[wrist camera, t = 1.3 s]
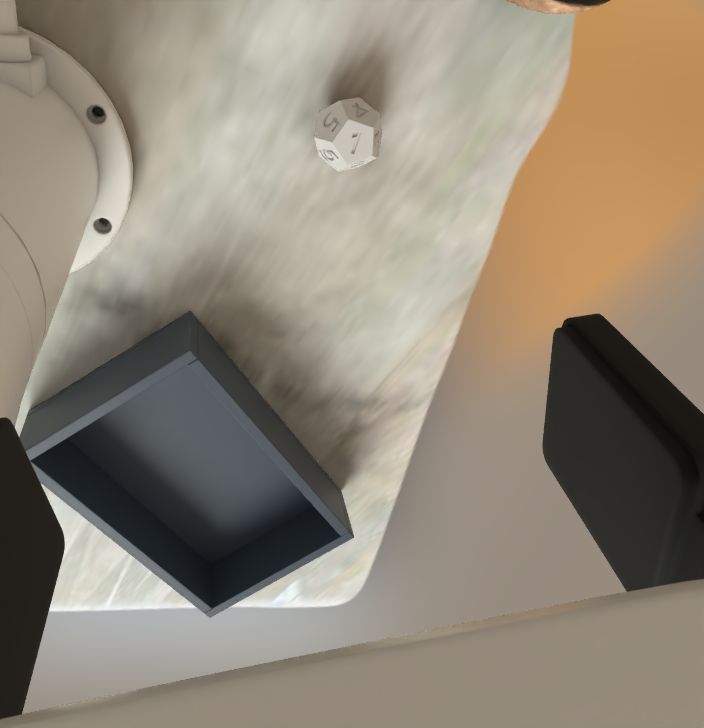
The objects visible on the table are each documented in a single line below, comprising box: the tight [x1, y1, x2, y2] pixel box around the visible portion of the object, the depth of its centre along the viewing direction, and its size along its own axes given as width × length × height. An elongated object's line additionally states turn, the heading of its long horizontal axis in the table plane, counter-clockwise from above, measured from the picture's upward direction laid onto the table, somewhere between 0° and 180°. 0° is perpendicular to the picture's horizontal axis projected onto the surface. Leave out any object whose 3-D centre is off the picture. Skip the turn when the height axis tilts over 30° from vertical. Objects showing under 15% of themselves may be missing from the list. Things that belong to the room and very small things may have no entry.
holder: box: [19, 311, 354, 617], centre depth 42 cm, size 18×12×5 cm, turn 29°
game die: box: [314, 97, 382, 172], centre depth 34 cm, size 4×4×3 cm
